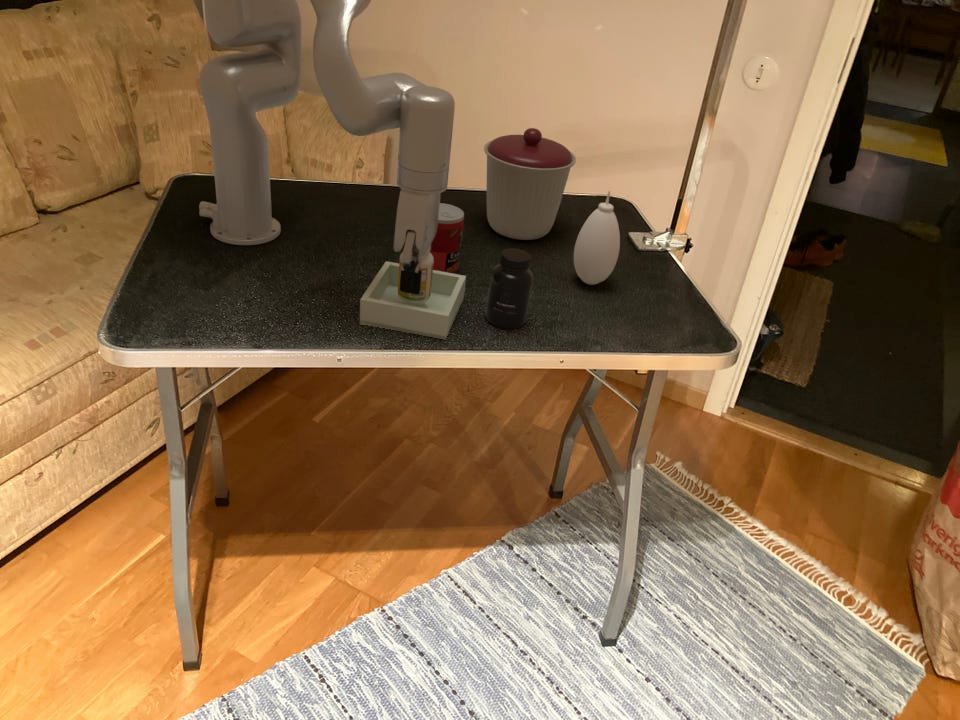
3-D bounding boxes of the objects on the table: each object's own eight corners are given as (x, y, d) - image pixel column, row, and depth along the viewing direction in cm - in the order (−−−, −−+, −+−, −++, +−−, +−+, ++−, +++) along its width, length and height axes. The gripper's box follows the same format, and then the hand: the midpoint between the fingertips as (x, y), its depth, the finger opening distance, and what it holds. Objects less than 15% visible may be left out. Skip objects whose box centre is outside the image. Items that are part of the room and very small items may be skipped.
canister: (535, 257, 145) (553, 151, 133) (458, 229, 152) (469, 126, 140) (576, 230, 158) (595, 131, 147) (503, 205, 165) (516, 109, 154)
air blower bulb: (561, 274, 141) (579, 182, 131) (598, 271, 143) (618, 181, 133) (580, 294, 135) (600, 200, 125) (618, 290, 137) (640, 198, 127)
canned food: (453, 280, 134) (459, 223, 128) (410, 272, 135) (414, 215, 129) (462, 262, 140) (468, 207, 134) (421, 254, 141) (425, 199, 135)
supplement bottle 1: (412, 284, 125) (416, 231, 119) (437, 296, 123) (442, 242, 117) (390, 295, 121) (393, 240, 116) (416, 307, 119) (420, 252, 113)
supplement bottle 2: (495, 332, 121) (504, 266, 114) (478, 311, 126) (486, 246, 119) (533, 327, 123) (544, 262, 117) (515, 306, 128) (525, 243, 122)
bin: (359, 324, 118) (360, 299, 116) (384, 284, 130) (385, 261, 127) (445, 340, 117) (448, 316, 114) (463, 299, 128) (466, 276, 126)
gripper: (412, 153, 118) (406, 257, 128) (381, 191, 104) (376, 304, 114) (459, 161, 117) (448, 265, 127) (434, 200, 103) (424, 313, 113)
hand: (414, 282), depth 120 cm, fingers closed on supplement bottle 1, 5 cm apart
